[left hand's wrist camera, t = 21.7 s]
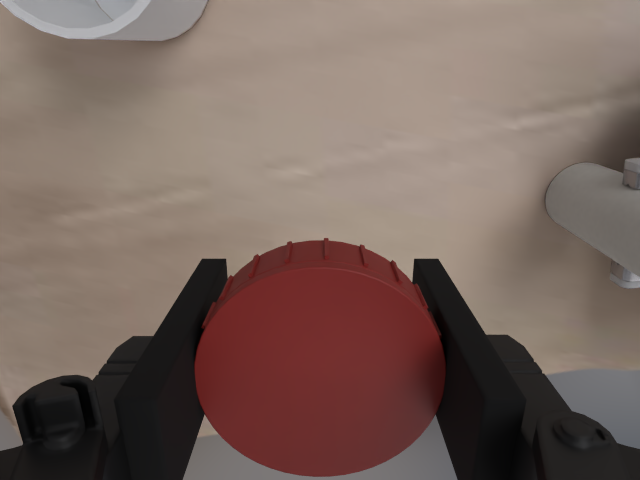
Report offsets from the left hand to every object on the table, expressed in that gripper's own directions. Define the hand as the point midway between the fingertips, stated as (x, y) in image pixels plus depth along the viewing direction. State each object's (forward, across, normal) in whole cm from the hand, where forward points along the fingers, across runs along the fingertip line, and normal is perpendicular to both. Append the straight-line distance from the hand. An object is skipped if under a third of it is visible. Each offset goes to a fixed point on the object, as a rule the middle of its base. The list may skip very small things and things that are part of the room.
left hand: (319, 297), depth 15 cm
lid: (-4, 0, 0) cm, 4 cm away
